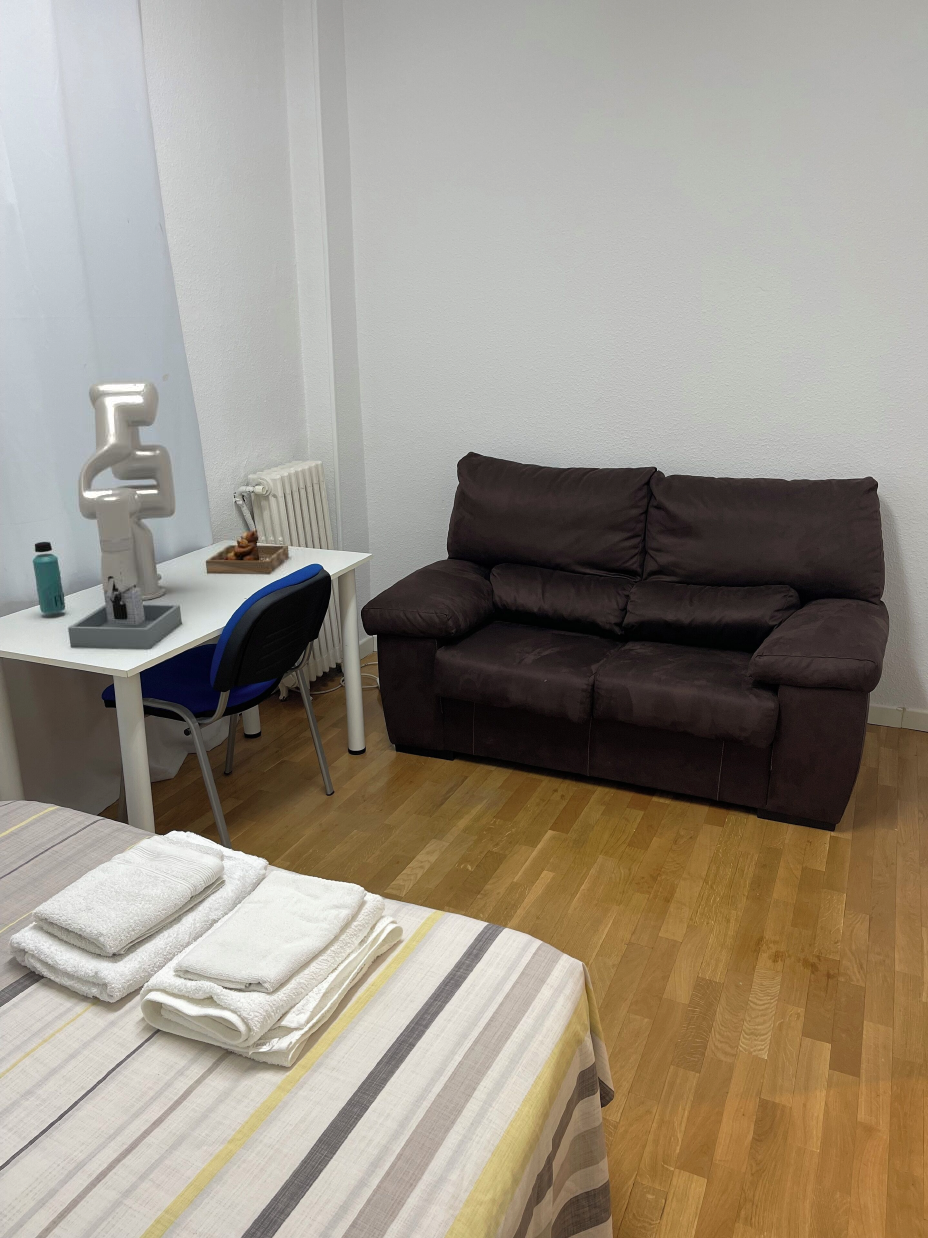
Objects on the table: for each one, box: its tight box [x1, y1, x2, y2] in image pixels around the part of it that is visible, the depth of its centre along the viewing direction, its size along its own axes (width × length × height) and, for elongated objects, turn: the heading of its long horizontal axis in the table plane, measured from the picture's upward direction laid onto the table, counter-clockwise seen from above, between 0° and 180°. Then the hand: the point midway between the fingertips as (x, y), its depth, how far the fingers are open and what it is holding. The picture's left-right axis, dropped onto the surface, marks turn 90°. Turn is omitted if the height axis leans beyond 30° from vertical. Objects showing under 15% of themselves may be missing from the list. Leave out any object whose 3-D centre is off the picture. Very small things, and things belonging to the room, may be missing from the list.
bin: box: [67, 603, 183, 650], centre depth 242 cm, size 20×20×5 cm
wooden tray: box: [205, 544, 290, 575], centre depth 308 cm, size 21×20×4 cm
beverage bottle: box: [32, 541, 66, 614], centre depth 257 cm, size 6×7×20 cm
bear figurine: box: [224, 529, 269, 561], centre depth 304 cm, size 14×15×12 cm
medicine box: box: [103, 587, 145, 625], centre depth 241 cm, size 8×4×9 cm, turn 80°
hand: (125, 615), depth 241 cm, fingers closed on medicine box, 4 cm apart
